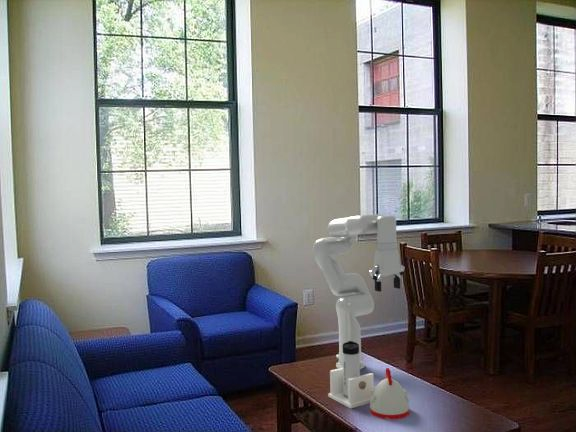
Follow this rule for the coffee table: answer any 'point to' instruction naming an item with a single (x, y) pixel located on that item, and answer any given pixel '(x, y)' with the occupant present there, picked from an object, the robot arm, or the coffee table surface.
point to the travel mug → (350, 363)
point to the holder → (351, 389)
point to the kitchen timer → (389, 399)
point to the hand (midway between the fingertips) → (387, 289)
